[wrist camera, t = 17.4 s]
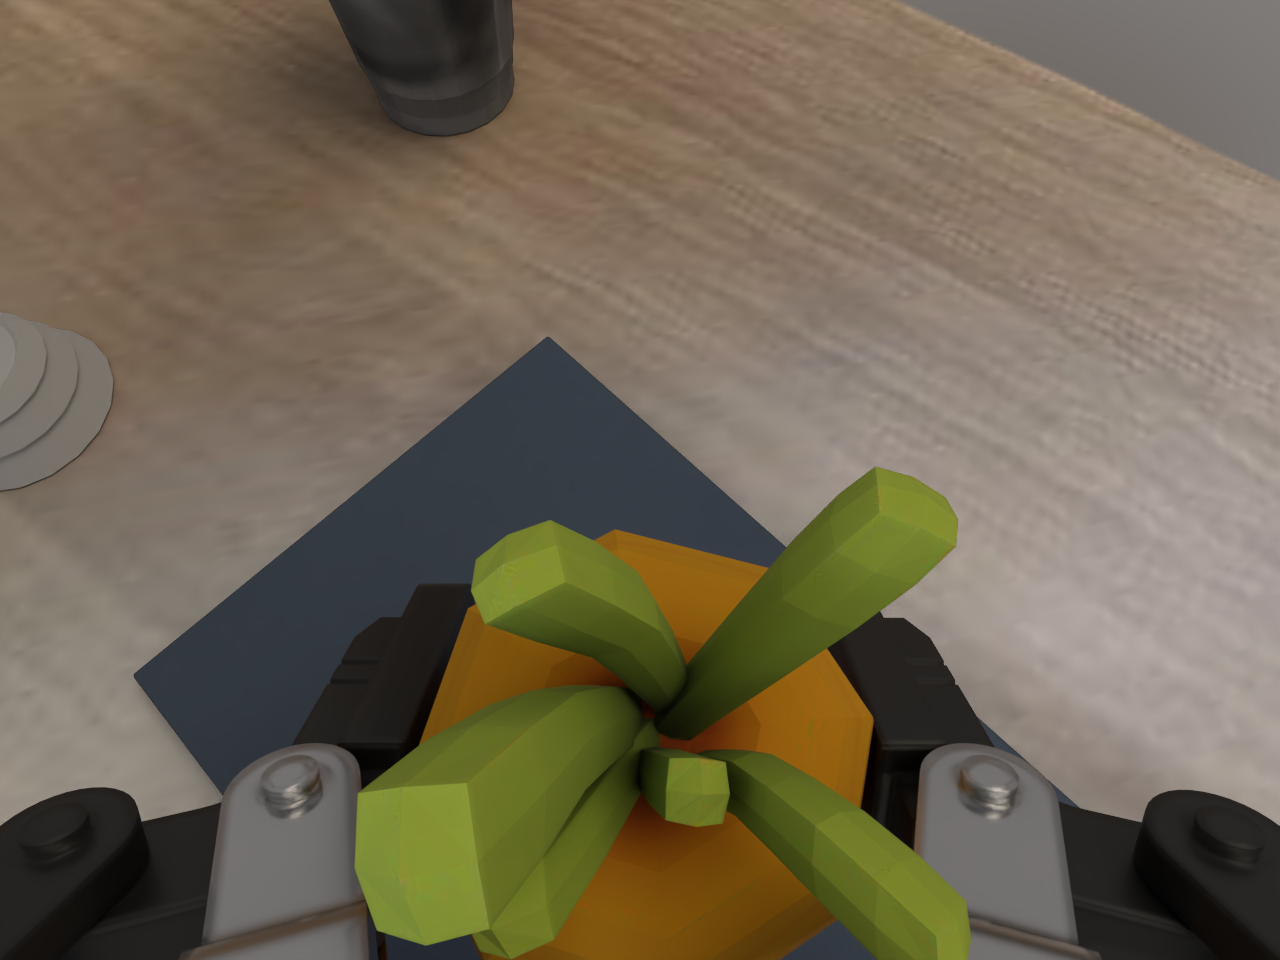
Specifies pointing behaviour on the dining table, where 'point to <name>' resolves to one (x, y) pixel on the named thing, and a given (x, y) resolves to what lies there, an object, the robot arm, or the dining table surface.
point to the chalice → (47, 398)
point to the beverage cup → (434, 59)
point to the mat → (445, 565)
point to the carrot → (662, 753)
